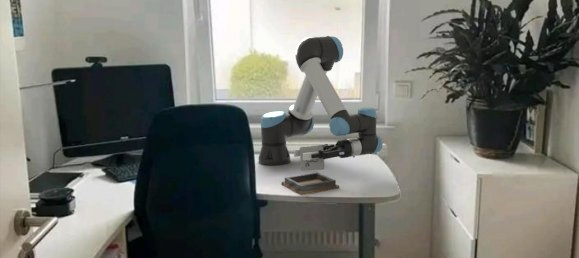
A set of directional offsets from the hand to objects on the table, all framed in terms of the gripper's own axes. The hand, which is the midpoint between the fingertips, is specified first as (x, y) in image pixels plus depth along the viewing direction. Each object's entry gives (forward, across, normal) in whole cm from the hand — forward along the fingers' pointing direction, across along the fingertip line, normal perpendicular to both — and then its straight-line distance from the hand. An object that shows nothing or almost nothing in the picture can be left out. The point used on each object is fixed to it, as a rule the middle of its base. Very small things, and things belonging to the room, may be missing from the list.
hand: (298, 155), depth 220 cm
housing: (-5, 0, -14) cm, 14 cm away
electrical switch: (-5, -1, -6) cm, 8 cm away
